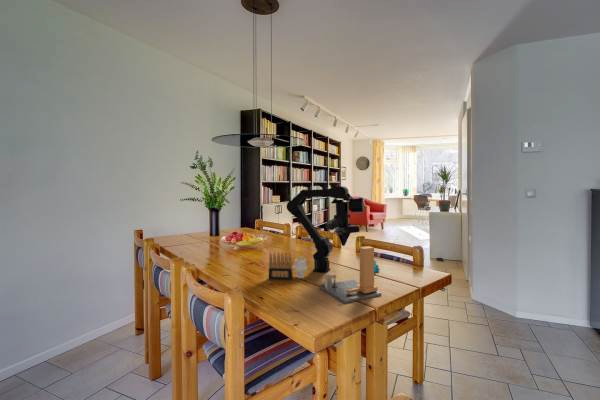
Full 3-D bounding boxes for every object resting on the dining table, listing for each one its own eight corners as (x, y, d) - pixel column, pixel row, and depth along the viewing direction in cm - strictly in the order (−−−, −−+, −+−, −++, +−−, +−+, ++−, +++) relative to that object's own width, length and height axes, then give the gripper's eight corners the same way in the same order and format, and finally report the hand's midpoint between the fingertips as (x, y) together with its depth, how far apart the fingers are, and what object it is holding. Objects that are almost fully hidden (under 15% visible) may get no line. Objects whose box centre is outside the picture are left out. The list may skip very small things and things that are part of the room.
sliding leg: (343, 292, 109) (343, 248, 108) (368, 286, 114) (368, 245, 114) (351, 296, 105) (351, 251, 104) (377, 290, 110) (377, 247, 109)
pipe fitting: (299, 273, 137) (299, 257, 136) (310, 277, 132) (310, 259, 131) (290, 277, 132) (289, 259, 132) (301, 280, 127) (300, 262, 127)
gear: (375, 271, 133) (362, 254, 137) (366, 279, 135) (353, 262, 140) (384, 269, 142) (371, 253, 146) (375, 276, 144) (363, 260, 149)
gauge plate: (319, 288, 117) (319, 273, 117) (353, 281, 125) (353, 268, 124) (344, 303, 102) (344, 286, 101) (381, 295, 109) (381, 279, 109)
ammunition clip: (292, 278, 130) (292, 252, 129) (292, 280, 128) (291, 253, 127) (269, 278, 131) (269, 251, 131) (268, 279, 129) (267, 252, 129)
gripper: (317, 213, 141) (318, 244, 142) (338, 215, 125) (340, 251, 125) (336, 211, 146) (337, 242, 147) (359, 213, 129) (361, 248, 130)
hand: (343, 245), depth 137 cm, fingers closed
